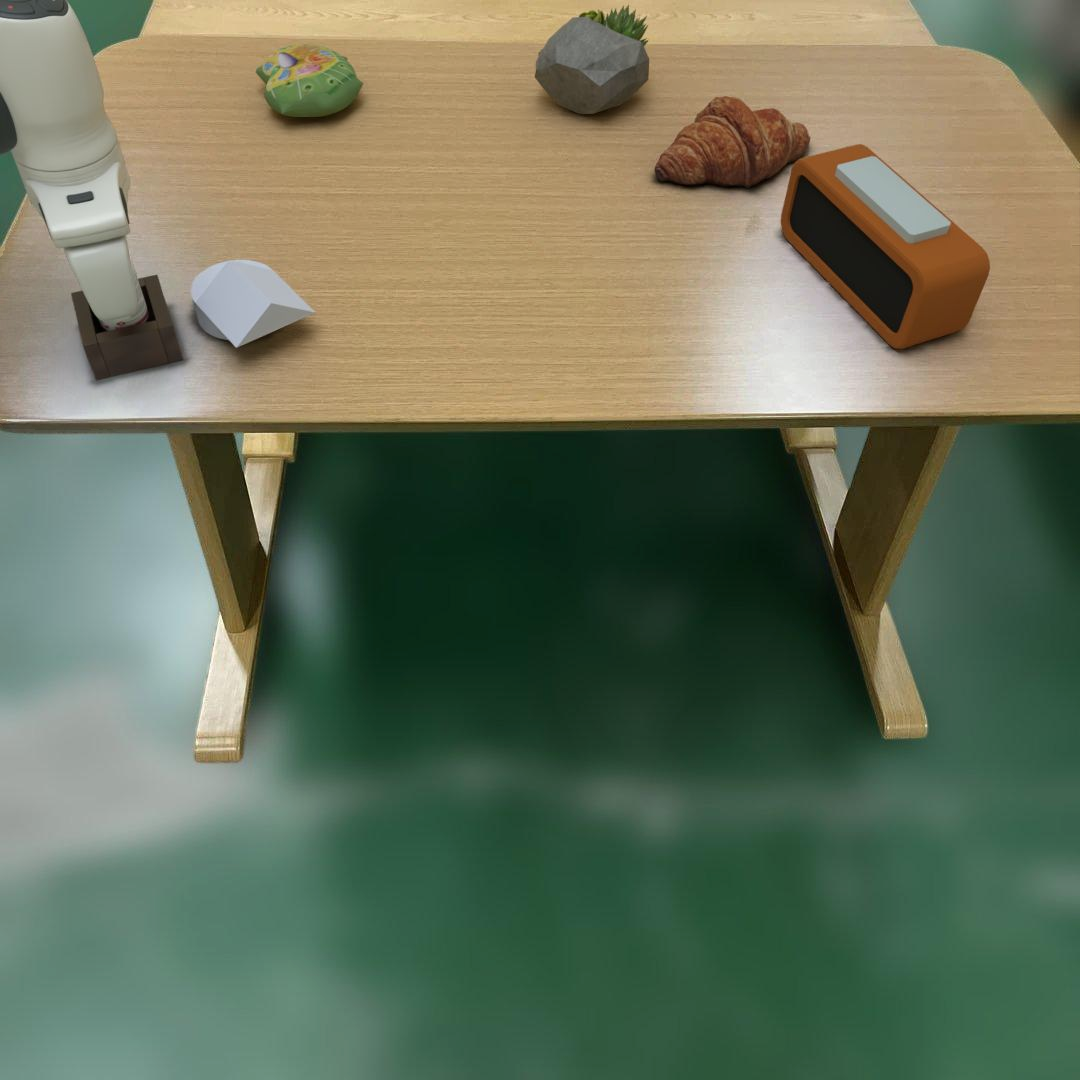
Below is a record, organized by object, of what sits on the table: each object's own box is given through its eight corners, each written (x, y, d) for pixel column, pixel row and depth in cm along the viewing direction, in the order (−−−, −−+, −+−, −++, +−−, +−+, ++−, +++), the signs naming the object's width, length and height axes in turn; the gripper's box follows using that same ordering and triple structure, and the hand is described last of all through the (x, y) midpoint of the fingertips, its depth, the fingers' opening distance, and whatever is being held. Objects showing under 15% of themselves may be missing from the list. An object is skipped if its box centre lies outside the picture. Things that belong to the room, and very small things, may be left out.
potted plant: (513, 75, 143) (574, 1, 147) (582, 148, 147) (639, 74, 152) (557, 34, 132) (621, -45, 137) (630, 114, 136) (690, 35, 141)
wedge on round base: (319, 338, 115) (257, 275, 121) (311, 285, 110) (246, 222, 116) (242, 373, 111) (182, 306, 117) (229, 320, 106) (167, 253, 112)
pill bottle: (156, 307, 112) (135, 237, 106) (138, 337, 109) (114, 267, 103) (112, 301, 113) (88, 231, 106) (92, 331, 110) (66, 261, 103)
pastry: (698, 115, 144) (706, 56, 138) (811, 145, 140) (826, 85, 134) (650, 181, 135) (657, 120, 128) (771, 215, 131) (785, 154, 124)
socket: (96, 380, 110) (82, 345, 107) (83, 327, 115) (70, 292, 111) (183, 359, 112) (172, 325, 109) (167, 308, 117) (157, 274, 114)
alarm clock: (776, 230, 129) (796, 141, 120) (835, 214, 131) (860, 126, 122) (900, 358, 115) (933, 268, 106) (964, 337, 118) (1001, 248, 109)
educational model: (345, 61, 151) (341, 21, 147) (374, 121, 141) (370, 81, 137) (252, 75, 148) (244, 35, 144) (275, 137, 138) (268, 96, 134)
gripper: (24, 120, 103) (69, 244, 114) (52, 245, 92) (99, 370, 102) (94, 108, 105) (131, 231, 116) (129, 229, 93) (168, 354, 104)
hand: (116, 297), depth 109 cm, fingers closed on pill bottle, 5 cm apart
